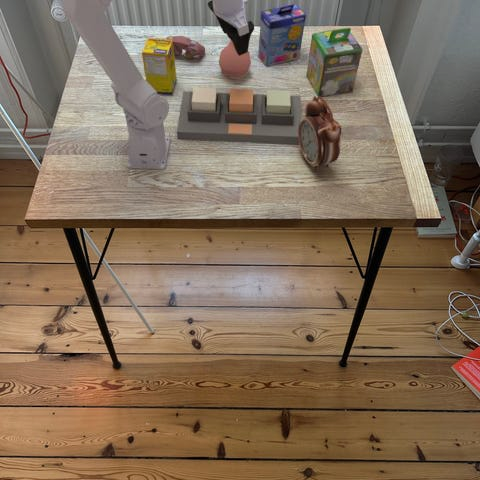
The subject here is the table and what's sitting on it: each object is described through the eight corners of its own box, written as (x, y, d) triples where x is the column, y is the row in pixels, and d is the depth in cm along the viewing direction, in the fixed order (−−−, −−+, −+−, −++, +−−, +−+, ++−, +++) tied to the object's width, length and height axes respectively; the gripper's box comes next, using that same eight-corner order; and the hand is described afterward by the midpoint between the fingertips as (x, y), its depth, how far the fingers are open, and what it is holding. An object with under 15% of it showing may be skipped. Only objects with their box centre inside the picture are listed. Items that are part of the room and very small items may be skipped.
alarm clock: (293, 146, 109) (302, 88, 97) (313, 141, 111) (324, 83, 99) (315, 181, 103) (327, 123, 91) (336, 175, 104) (351, 117, 93)
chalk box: (339, 70, 127) (351, 13, 115) (353, 92, 121) (367, 35, 110) (304, 75, 125) (313, 17, 113) (317, 97, 120) (327, 40, 108)
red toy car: (166, 58, 130) (159, 43, 124) (171, 43, 131) (164, 26, 124) (202, 66, 129) (197, 50, 122) (207, 50, 130) (202, 34, 123)
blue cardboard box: (266, 68, 126) (270, 12, 115) (256, 56, 129) (260, 0, 118) (301, 59, 129) (308, 3, 118) (290, 47, 132) (297, -8, 121)
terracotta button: (252, 115, 110) (252, 104, 107) (229, 114, 110) (229, 103, 107) (252, 101, 113) (253, 89, 110) (230, 100, 113) (230, 88, 110)
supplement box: (176, 80, 122) (173, 38, 114) (172, 95, 119) (168, 54, 110) (152, 78, 123) (147, 36, 114) (147, 93, 119) (141, 51, 110)
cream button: (215, 114, 110) (215, 102, 107) (192, 113, 110) (191, 101, 107) (216, 99, 113) (216, 88, 110) (194, 98, 113) (193, 87, 110)
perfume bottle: (230, 88, 121) (231, 42, 112) (212, 72, 125) (211, 26, 115) (256, 77, 124) (259, 31, 114) (238, 61, 128) (239, 16, 118)
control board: (301, 144, 110) (304, 127, 106) (177, 138, 110) (175, 122, 106) (299, 103, 118) (301, 86, 115) (183, 98, 118) (182, 81, 115)
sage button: (289, 117, 110) (290, 105, 107) (266, 116, 110) (267, 104, 107) (288, 102, 113) (289, 91, 110) (266, 101, 113) (267, 90, 110)
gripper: (260, -3, 92) (267, 55, 104) (228, -45, 99) (238, 14, 111) (224, 12, 91) (235, 69, 103) (195, -31, 98) (209, 27, 110)
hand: (235, 41), depth 107 cm, fingers open, 7 cm apart
